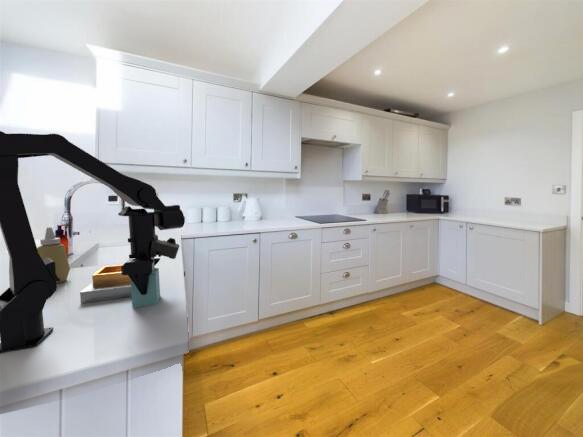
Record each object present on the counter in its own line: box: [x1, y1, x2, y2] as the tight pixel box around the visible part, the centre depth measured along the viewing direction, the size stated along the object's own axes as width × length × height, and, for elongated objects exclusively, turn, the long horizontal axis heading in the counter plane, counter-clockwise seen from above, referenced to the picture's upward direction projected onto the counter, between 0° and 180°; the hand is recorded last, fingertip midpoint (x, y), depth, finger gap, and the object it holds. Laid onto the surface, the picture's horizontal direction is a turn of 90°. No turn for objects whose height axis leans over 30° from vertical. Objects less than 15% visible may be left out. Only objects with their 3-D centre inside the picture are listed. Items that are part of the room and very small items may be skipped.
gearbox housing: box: [79, 264, 132, 304], centre depth 76 cm, size 19×12×6 cm, turn 21°
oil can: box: [130, 267, 161, 308], centre depth 66 cm, size 6×6×11 cm
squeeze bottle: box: [37, 226, 71, 284], centre depth 80 cm, size 8×8×18 cm
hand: (146, 290), depth 66 cm, fingers closed on oil can, 6 cm apart
